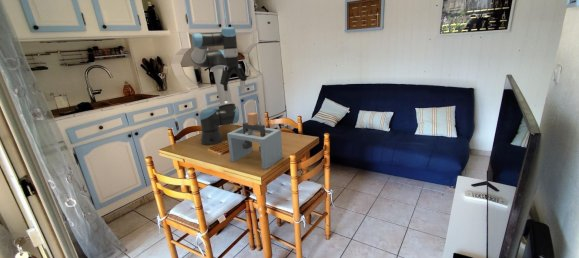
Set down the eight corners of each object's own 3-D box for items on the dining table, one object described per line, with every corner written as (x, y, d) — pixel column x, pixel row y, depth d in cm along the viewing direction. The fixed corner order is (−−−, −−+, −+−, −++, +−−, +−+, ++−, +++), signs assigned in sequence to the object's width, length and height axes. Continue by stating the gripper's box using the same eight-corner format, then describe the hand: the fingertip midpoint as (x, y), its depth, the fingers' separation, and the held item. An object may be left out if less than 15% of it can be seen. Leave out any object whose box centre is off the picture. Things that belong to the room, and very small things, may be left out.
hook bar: (245, 136, 150) (245, 132, 149) (259, 129, 160) (259, 125, 160) (248, 137, 149) (248, 133, 148) (262, 130, 159) (262, 126, 159)
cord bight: (242, 148, 159) (238, 113, 153) (248, 145, 163) (244, 111, 157) (263, 152, 152) (260, 116, 145) (269, 149, 156) (266, 113, 149)
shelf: (230, 161, 159) (227, 133, 154) (248, 150, 173) (246, 125, 167) (266, 169, 147) (263, 139, 141) (282, 157, 160) (280, 129, 155)
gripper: (220, 58, 142) (225, 98, 149) (250, 54, 162) (253, 90, 169) (210, 58, 146) (215, 97, 153) (240, 54, 166) (244, 89, 173)
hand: (235, 93), depth 161 cm, fingers open, 13 cm apart
